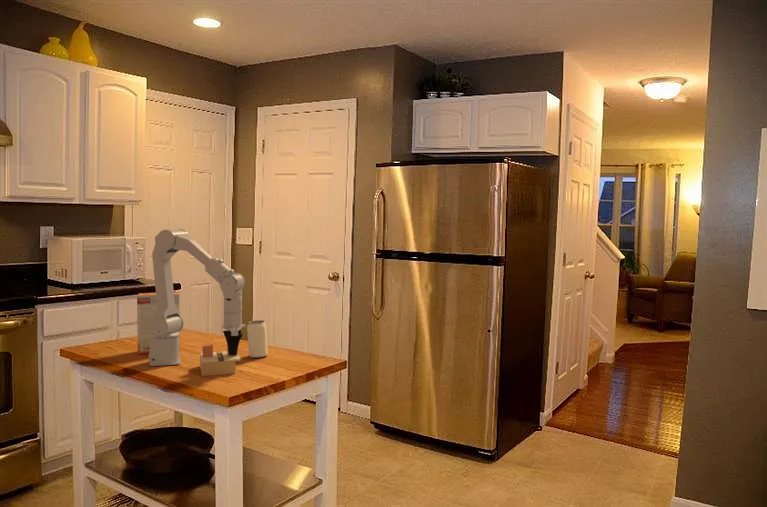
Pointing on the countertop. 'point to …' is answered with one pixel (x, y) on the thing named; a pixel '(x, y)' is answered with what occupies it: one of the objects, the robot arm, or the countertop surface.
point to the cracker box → (148, 319)
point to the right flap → (230, 356)
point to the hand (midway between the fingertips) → (232, 353)
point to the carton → (217, 366)
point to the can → (257, 339)
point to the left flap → (208, 354)
